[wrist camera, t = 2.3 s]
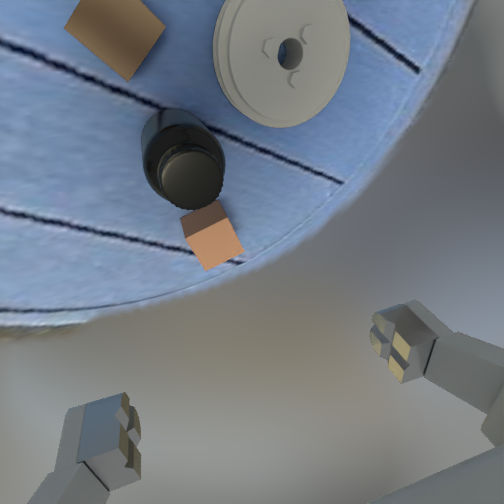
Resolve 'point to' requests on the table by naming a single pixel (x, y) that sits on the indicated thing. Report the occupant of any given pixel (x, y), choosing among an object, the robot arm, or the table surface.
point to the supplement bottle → (182, 159)
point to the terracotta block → (211, 235)
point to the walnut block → (116, 32)
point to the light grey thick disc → (266, 62)
